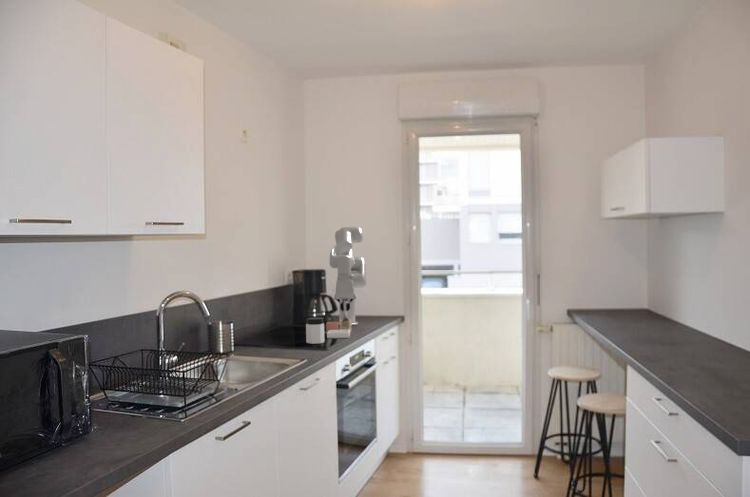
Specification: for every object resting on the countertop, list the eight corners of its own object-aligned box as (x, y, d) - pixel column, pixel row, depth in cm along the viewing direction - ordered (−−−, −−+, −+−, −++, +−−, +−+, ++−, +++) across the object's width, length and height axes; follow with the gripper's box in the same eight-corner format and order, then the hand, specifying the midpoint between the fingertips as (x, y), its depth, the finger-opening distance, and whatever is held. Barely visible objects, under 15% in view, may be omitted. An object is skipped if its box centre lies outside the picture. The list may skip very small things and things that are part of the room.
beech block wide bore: (340, 330, 336) (340, 320, 336) (351, 330, 336) (351, 319, 336) (339, 332, 330) (339, 321, 330) (350, 332, 330) (350, 321, 330)
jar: (312, 340, 303) (311, 317, 303) (326, 341, 300) (326, 317, 300) (303, 343, 294) (303, 319, 294) (318, 344, 292) (318, 319, 291)
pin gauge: (343, 320, 334) (342, 298, 334) (347, 320, 334) (347, 298, 334) (342, 320, 331) (342, 299, 332) (347, 320, 331) (347, 299, 331)
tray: (329, 335, 321) (329, 329, 321) (350, 334, 320) (350, 329, 320) (327, 338, 309) (326, 332, 309) (348, 337, 309) (348, 332, 309)
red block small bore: (327, 332, 330) (327, 321, 329) (338, 332, 329) (338, 321, 329) (326, 334, 324) (326, 323, 323) (337, 334, 323) (337, 323, 323)
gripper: (359, 277, 337) (360, 309, 336) (330, 277, 337) (331, 310, 337) (358, 277, 329) (359, 311, 329) (329, 278, 329) (330, 311, 329)
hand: (345, 310), depth 333 cm, fingers closed on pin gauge, 2 cm apart
